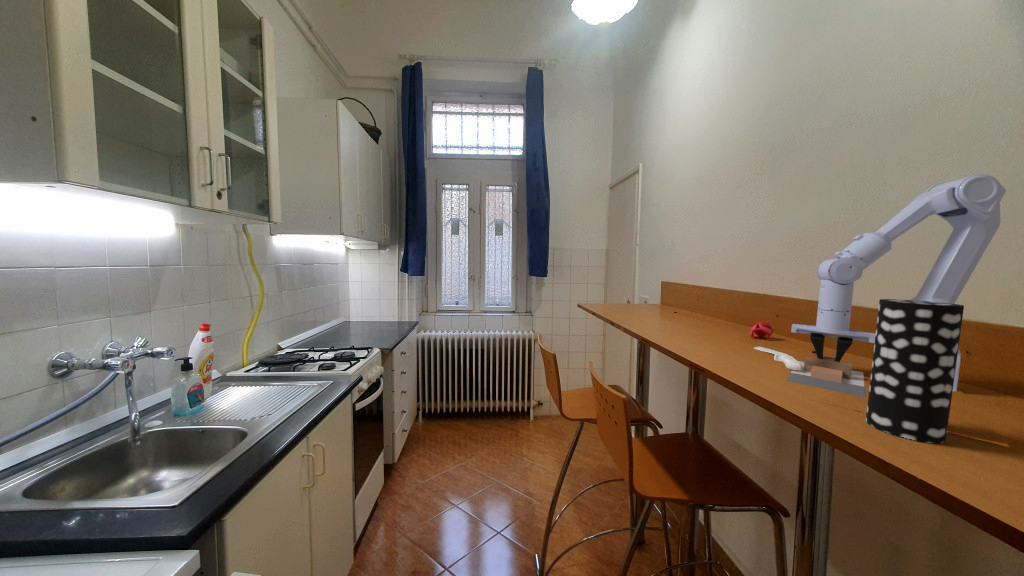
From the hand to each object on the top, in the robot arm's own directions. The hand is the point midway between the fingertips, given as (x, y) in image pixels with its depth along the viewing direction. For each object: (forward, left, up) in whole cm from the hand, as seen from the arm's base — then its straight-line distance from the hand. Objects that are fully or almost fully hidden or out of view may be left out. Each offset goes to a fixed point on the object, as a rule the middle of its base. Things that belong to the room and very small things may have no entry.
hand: (827, 367), depth 82 cm
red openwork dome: (+18, -34, -2) cm, 39 cm away
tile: (0, +7, -1) cm, 7 cm away
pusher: (0, +1, -1) cm, 2 cm away
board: (0, +5, -1) cm, 6 cm away
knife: (+12, -7, -1) cm, 14 cm away
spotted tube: (-10, +29, -2) cm, 31 cm away
